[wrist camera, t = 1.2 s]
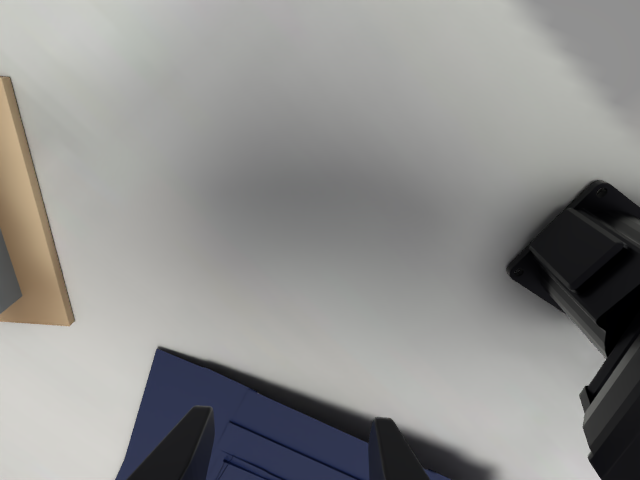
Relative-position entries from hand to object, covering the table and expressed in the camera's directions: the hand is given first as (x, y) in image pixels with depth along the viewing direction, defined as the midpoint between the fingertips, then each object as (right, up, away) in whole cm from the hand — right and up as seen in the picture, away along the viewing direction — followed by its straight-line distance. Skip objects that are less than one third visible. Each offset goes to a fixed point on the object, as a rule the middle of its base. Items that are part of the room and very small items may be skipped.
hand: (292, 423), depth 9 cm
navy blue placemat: (-1, -18, +24) cm, 30 cm away
